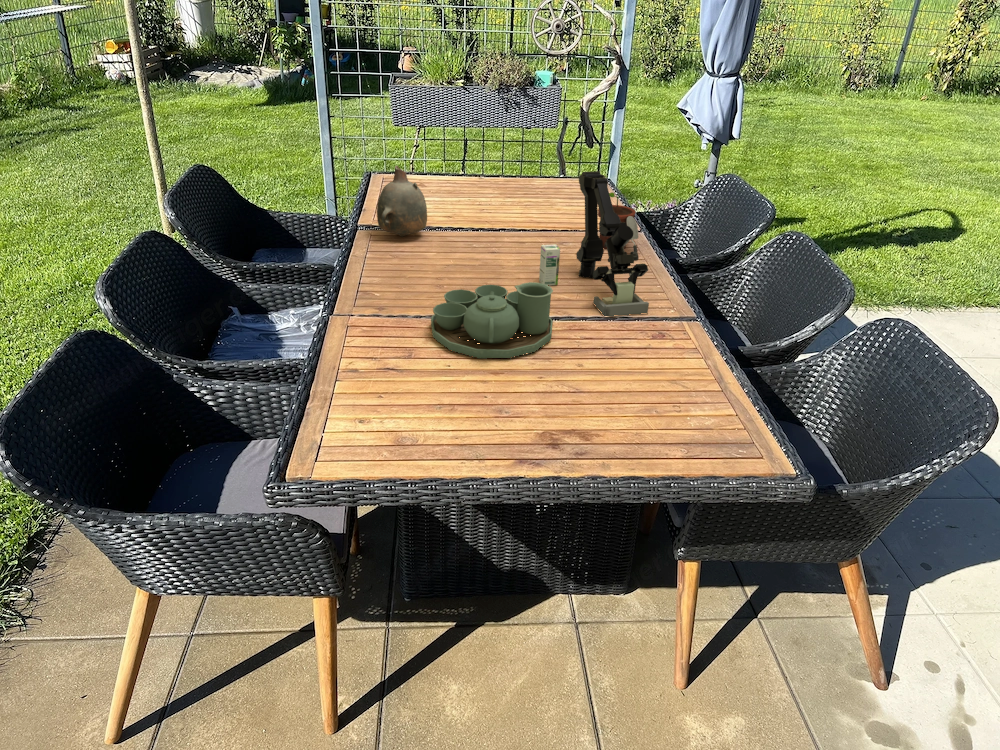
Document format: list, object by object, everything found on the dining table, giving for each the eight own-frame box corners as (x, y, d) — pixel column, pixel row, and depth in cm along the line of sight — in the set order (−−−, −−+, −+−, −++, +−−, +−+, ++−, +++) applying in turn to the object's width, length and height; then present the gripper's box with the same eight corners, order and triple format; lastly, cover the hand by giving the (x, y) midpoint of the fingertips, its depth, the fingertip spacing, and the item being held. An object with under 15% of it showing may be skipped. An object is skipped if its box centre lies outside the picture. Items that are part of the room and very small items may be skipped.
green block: (611, 309, 246) (614, 282, 241) (627, 307, 247) (630, 281, 242) (614, 312, 244) (618, 286, 238) (630, 311, 245) (634, 284, 240)
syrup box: (543, 286, 261) (546, 249, 254) (538, 280, 266) (541, 244, 259) (557, 285, 263) (560, 248, 256) (552, 279, 268) (555, 243, 260)
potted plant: (632, 241, 310) (640, 185, 297) (637, 258, 291) (646, 199, 278) (592, 239, 310) (598, 182, 298) (595, 256, 291) (601, 197, 279)
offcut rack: (592, 303, 249) (593, 293, 247) (633, 300, 253) (635, 290, 251) (604, 317, 240) (606, 306, 238) (647, 313, 244) (648, 303, 242)
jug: (424, 246, 294) (422, 175, 279) (373, 244, 294) (369, 172, 279) (430, 228, 315) (429, 160, 300) (383, 226, 315) (379, 158, 300)
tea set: (522, 300, 250) (524, 257, 242) (572, 350, 219) (577, 302, 210) (415, 314, 237) (414, 269, 229) (452, 370, 205) (452, 319, 197)
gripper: (599, 244, 235) (608, 287, 231) (649, 241, 239) (659, 283, 236) (588, 258, 245) (596, 299, 242) (637, 255, 250) (646, 295, 246)
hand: (625, 294), depth 241 cm, fingers closed on green block, 6 cm apart
